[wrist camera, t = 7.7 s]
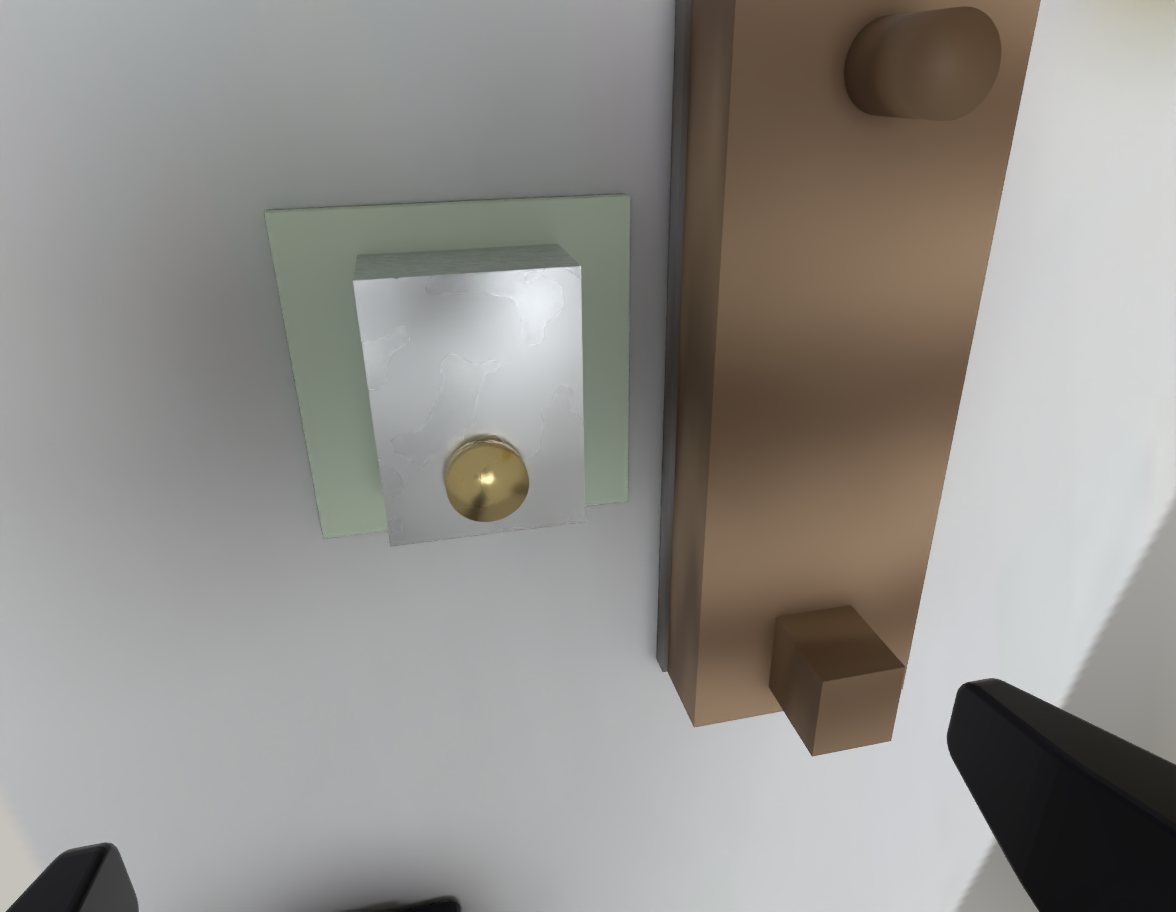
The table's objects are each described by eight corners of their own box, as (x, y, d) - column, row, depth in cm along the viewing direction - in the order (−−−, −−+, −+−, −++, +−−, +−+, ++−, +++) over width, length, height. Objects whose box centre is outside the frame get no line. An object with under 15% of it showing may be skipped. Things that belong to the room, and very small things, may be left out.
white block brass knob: (564, 474, 21) (590, 532, 18) (389, 495, 20) (390, 558, 18) (557, 243, 19) (586, 271, 16) (356, 255, 18) (351, 286, 15)
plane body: (854, 626, 26) (962, 753, 21) (656, 659, 25) (723, 802, 20) (955, -2, 19) (1161, -29, 14) (676, -3, 17) (792, -34, 12)
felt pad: (624, 494, 22) (627, 501, 22) (324, 530, 21) (323, 538, 20) (625, 193, 19) (630, 196, 18) (266, 210, 17) (263, 213, 17)
